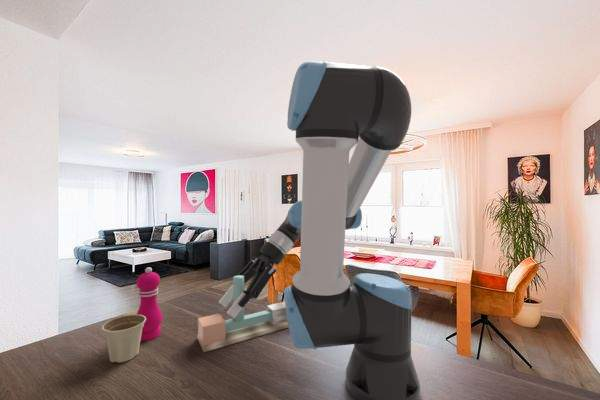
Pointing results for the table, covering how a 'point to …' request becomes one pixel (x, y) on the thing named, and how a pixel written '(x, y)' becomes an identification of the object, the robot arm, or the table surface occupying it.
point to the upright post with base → (240, 319)
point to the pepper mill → (149, 304)
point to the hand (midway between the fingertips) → (226, 309)
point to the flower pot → (123, 337)
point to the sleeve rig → (253, 328)
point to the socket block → (211, 329)
